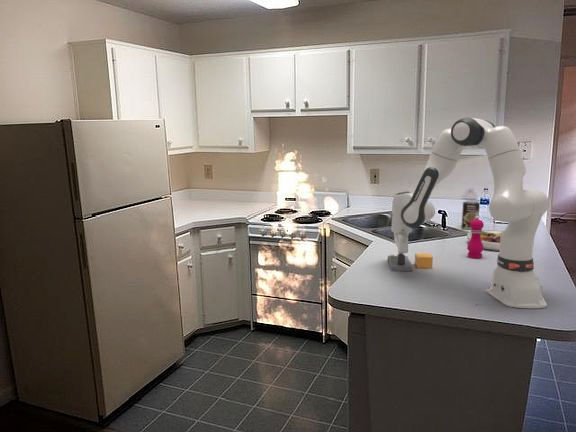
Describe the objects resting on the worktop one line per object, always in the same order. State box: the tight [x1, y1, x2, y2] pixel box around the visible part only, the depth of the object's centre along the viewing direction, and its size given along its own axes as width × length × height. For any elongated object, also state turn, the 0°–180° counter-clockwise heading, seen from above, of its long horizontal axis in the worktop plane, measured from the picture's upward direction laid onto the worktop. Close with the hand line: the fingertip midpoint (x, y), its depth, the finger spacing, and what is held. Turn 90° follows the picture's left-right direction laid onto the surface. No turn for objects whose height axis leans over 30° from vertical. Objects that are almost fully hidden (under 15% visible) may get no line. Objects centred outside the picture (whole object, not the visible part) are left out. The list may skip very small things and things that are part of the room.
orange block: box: [414, 252, 434, 269], centre depth 209 cm, size 7×7×5 cm
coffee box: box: [460, 201, 481, 231], centre depth 279 cm, size 9×6×16 cm
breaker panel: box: [387, 254, 414, 272], centre depth 211 cm, size 17×9×3 cm, turn 174°
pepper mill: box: [466, 216, 484, 259], centre depth 220 cm, size 7×7×20 cm
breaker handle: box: [396, 253, 406, 264], centre depth 206 cm, size 3×3×4 cm
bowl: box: [467, 229, 504, 252], centre depth 242 cm, size 30×30×8 cm
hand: (400, 257), depth 209 cm, fingers closed
